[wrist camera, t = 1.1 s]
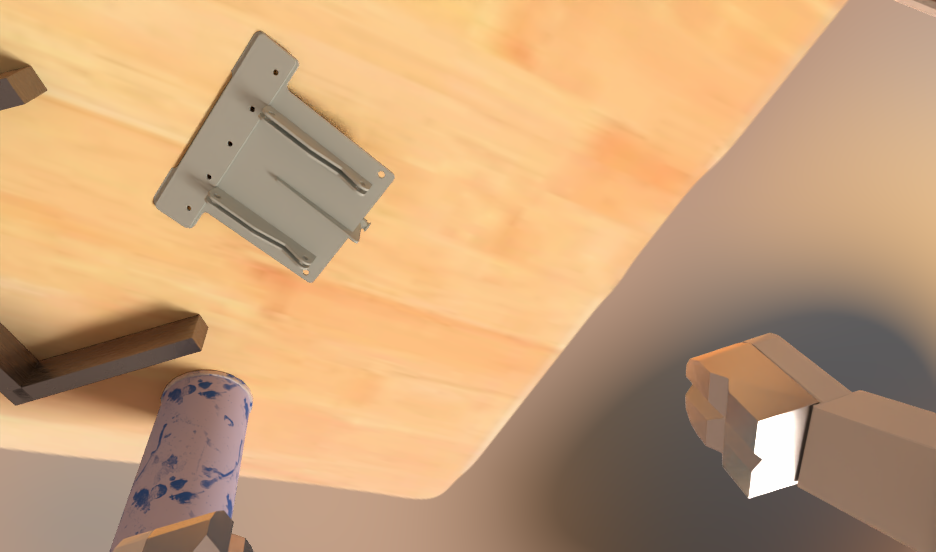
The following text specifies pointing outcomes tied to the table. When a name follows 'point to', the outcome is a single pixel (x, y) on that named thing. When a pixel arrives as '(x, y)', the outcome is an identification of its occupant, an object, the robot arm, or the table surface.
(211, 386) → the aerosol can
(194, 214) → the metal bracket
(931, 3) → the banded square pillar
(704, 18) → the table surface
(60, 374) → the steel u-shaped frame
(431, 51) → the table surface
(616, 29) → the table surface
